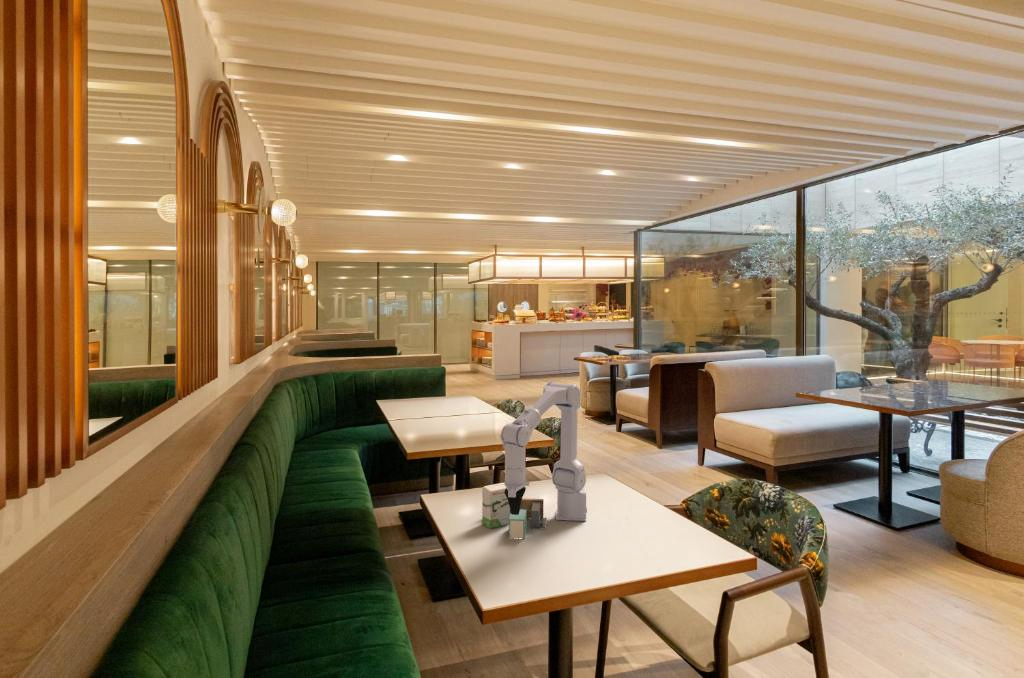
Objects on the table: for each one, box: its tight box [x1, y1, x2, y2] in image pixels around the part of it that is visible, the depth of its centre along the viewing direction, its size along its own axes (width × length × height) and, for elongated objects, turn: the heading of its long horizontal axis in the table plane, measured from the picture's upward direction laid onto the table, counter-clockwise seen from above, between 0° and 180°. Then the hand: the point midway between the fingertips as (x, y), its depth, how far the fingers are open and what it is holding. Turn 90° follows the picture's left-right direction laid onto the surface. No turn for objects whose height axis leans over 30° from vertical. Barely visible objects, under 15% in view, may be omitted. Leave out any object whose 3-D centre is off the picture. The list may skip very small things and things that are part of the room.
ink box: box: [481, 482, 511, 529], centre depth 181 cm, size 9×5×12 cm, turn 123°
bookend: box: [530, 502, 547, 530], centre depth 181 cm, size 4×8×6 cm, turn 174°
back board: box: [520, 497, 544, 519], centre depth 186 cm, size 17×1×6 cm, turn 84°
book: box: [508, 509, 527, 540], centre depth 173 cm, size 4×8×6 cm, turn 174°
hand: (515, 513), depth 164 cm, fingers closed
